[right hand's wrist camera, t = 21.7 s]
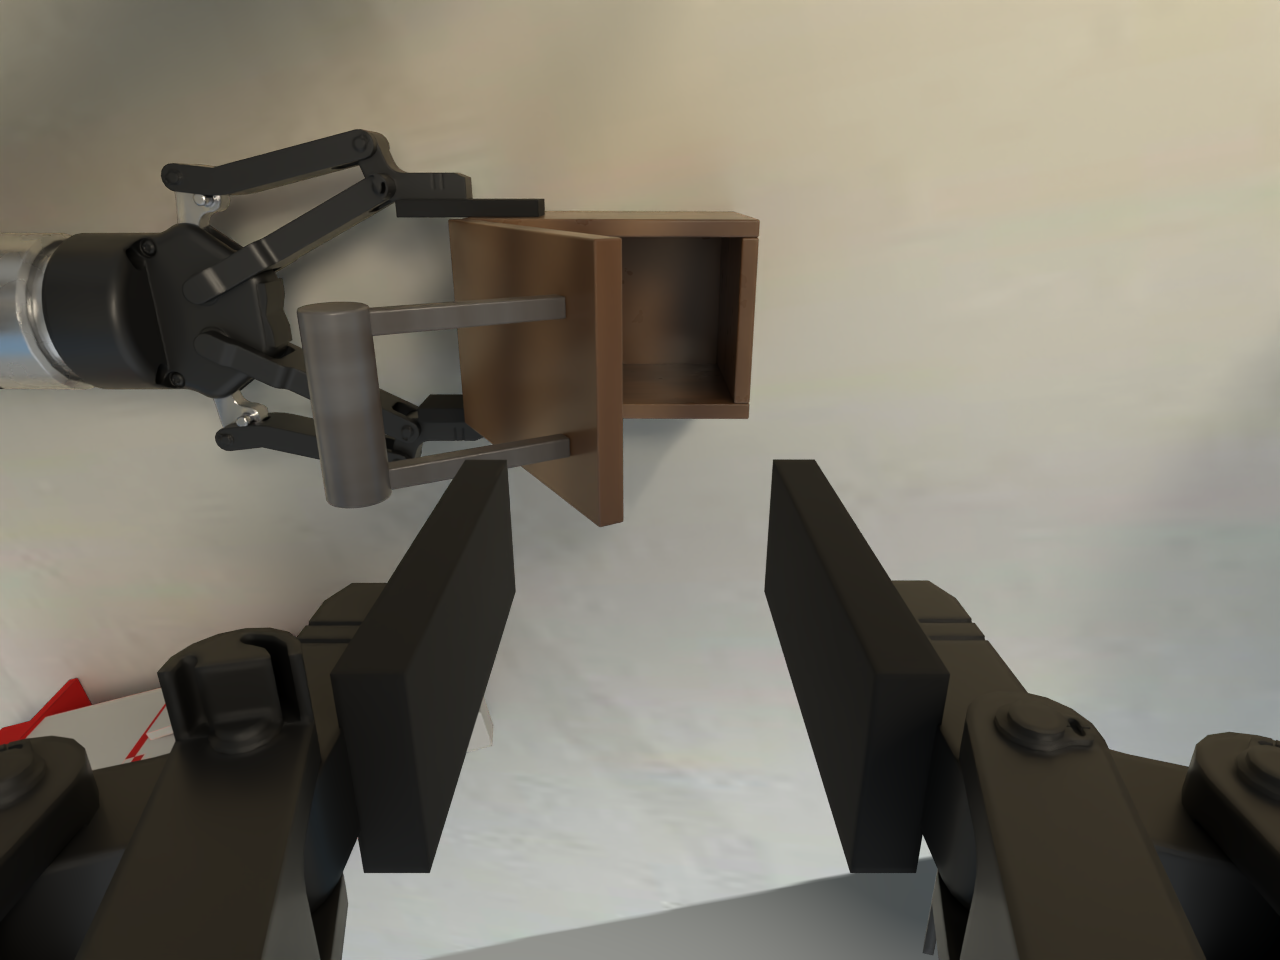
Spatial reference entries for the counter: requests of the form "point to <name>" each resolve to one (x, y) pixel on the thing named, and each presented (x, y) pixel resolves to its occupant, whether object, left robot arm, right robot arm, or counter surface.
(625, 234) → the brown hollow box
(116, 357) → the left robot arm
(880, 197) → the counter surface
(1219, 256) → the counter surface
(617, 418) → the lid
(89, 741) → the toy
